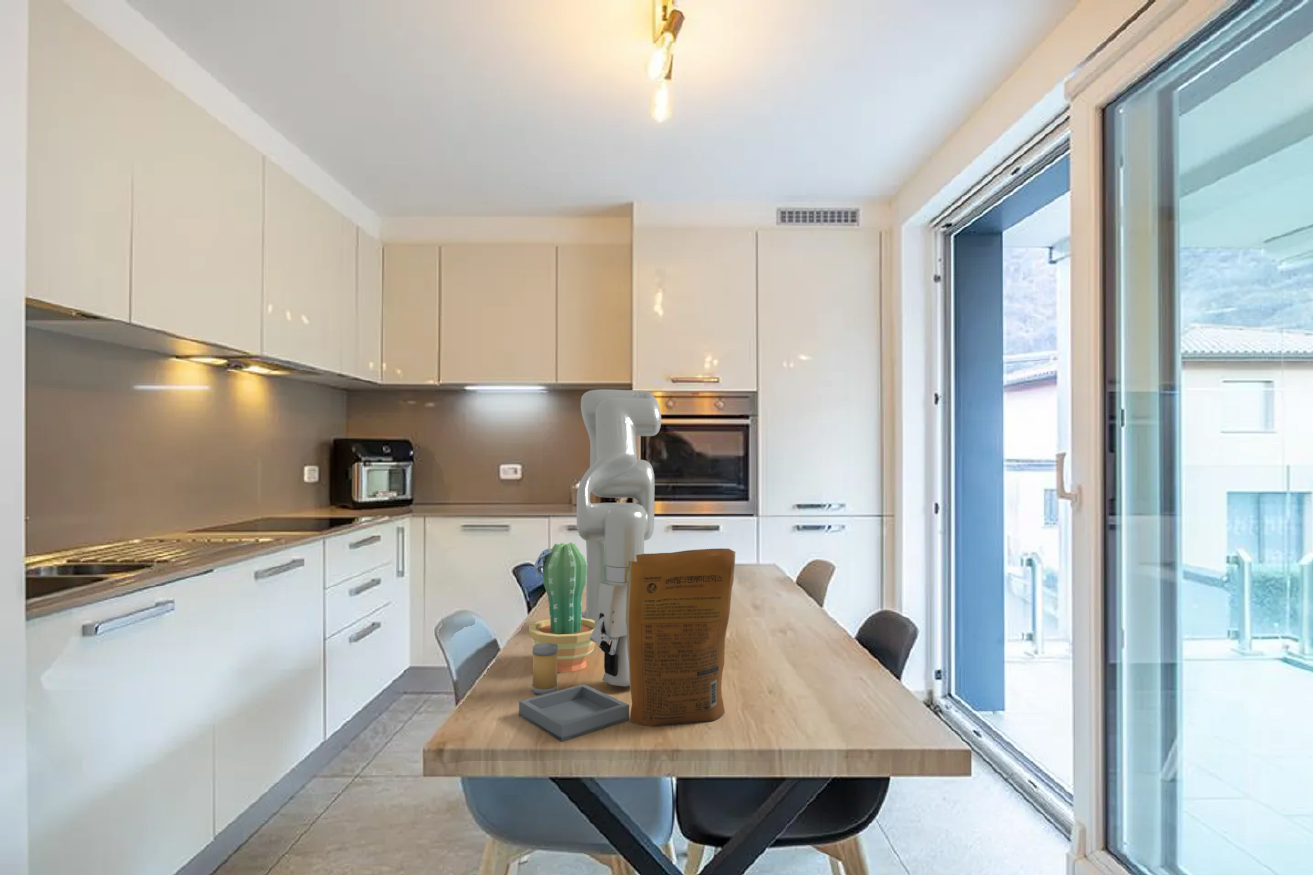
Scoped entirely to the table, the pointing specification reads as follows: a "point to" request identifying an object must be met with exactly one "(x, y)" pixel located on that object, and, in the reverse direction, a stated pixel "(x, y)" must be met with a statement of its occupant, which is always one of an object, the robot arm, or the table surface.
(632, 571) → the pancake mix bag
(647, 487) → the robot arm
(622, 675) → the flask
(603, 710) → the tray
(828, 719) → the table surface
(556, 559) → the potted cactus
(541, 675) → the fuse
